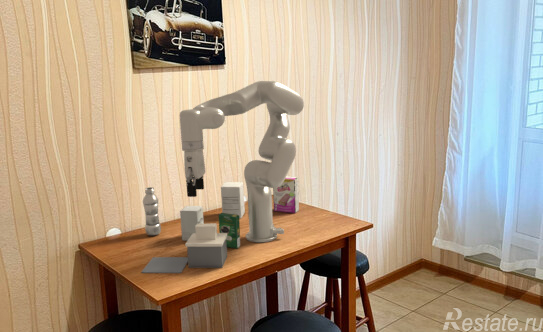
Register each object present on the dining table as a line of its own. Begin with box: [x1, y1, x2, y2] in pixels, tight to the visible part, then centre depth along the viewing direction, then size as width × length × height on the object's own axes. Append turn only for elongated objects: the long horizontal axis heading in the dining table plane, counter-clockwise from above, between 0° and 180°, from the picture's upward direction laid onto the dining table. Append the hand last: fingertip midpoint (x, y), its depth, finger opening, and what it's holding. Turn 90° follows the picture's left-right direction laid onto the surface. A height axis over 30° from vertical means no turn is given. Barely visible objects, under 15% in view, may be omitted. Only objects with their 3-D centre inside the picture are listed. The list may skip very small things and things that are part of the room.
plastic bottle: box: [142, 186, 162, 236], centre depth 213 cm, size 6×7×20 cm
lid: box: [185, 223, 227, 248], centre depth 182 cm, size 13×11×6 cm
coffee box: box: [218, 212, 241, 250], centre depth 197 cm, size 8×3×13 cm, turn 66°
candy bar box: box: [272, 175, 300, 214], centre depth 239 cm, size 11×5×16 cm, turn 68°
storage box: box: [186, 239, 228, 269], centre depth 183 cm, size 12×10×8 cm
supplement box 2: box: [220, 181, 246, 219], centre depth 235 cm, size 9×9×15 cm
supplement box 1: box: [179, 205, 205, 242], centre depth 208 cm, size 7×7×13 cm
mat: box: [141, 256, 188, 274], centre depth 183 cm, size 14×13×1 cm
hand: (195, 192), depth 182 cm, fingers open, 9 cm apart
